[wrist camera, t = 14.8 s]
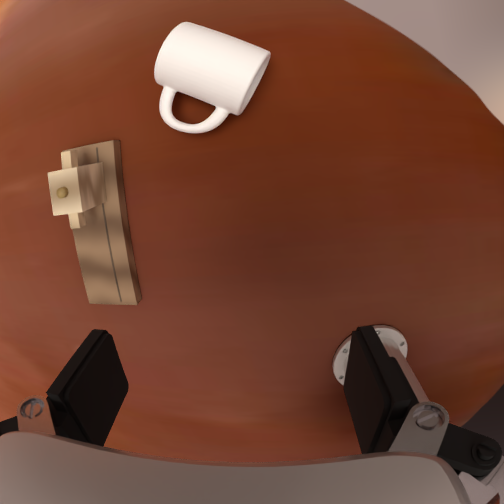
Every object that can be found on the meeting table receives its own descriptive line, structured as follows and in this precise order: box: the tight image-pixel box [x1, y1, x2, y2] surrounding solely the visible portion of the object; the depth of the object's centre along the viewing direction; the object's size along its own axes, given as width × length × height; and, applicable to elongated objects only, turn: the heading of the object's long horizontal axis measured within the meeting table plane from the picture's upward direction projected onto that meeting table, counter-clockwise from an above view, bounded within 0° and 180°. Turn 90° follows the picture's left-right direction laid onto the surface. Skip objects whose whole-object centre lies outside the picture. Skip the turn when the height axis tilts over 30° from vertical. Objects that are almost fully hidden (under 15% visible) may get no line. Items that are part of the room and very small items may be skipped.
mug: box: [154, 22, 271, 133], centre depth 29 cm, size 12×10×8 cm
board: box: [62, 140, 142, 305], centre depth 38 cm, size 22×8×2 cm, turn 3°
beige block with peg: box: [48, 150, 107, 229], centre depth 32 cm, size 9×4×7 cm, turn 3°
